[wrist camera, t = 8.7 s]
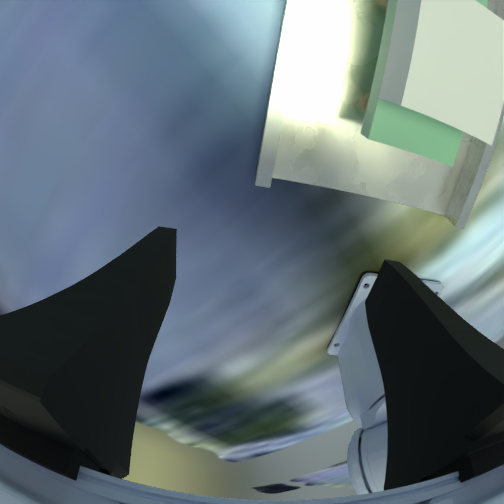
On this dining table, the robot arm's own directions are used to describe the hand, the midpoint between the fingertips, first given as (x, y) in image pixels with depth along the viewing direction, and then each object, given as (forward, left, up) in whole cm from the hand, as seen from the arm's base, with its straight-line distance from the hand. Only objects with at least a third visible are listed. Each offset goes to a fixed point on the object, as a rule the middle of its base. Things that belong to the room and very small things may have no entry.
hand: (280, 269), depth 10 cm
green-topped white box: (+9, -6, -6) cm, 12 cm away
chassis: (+9, -6, -9) cm, 14 cm away
